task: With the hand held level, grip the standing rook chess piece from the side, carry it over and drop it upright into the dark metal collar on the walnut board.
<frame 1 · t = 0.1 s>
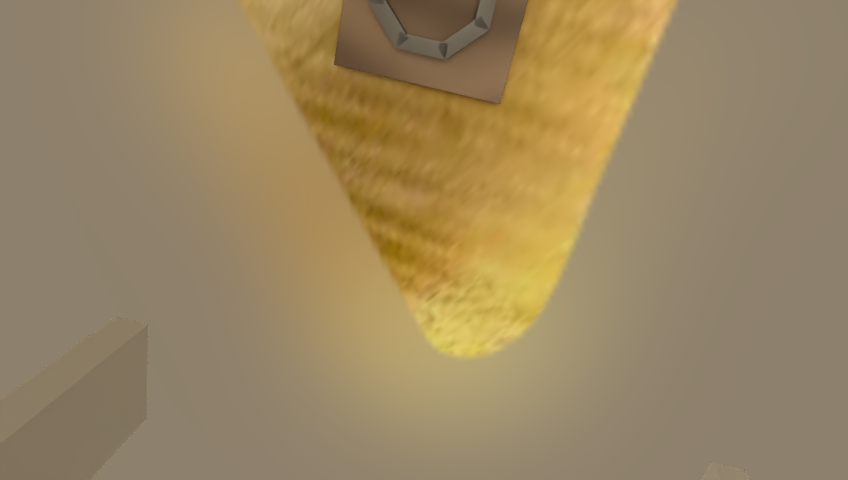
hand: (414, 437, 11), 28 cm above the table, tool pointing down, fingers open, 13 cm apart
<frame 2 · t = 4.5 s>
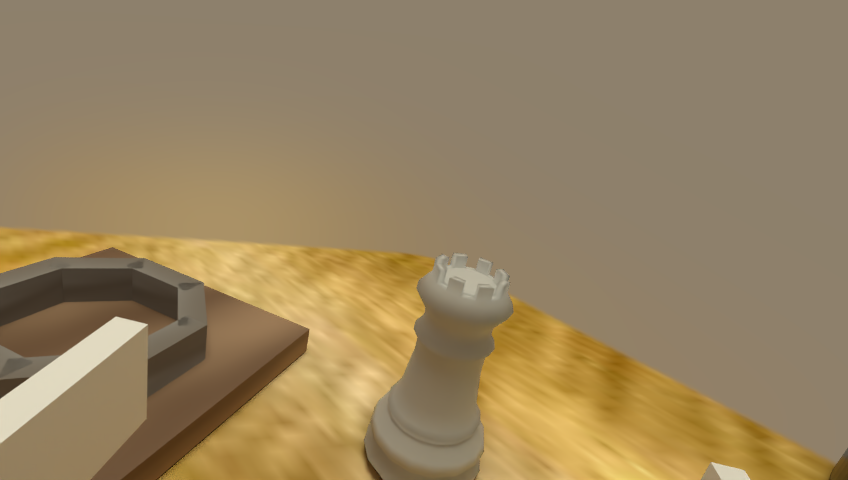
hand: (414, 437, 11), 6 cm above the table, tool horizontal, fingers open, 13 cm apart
socket board: (89, 367, 19), on the table
rook chess piece: (419, 460, 19), on the table
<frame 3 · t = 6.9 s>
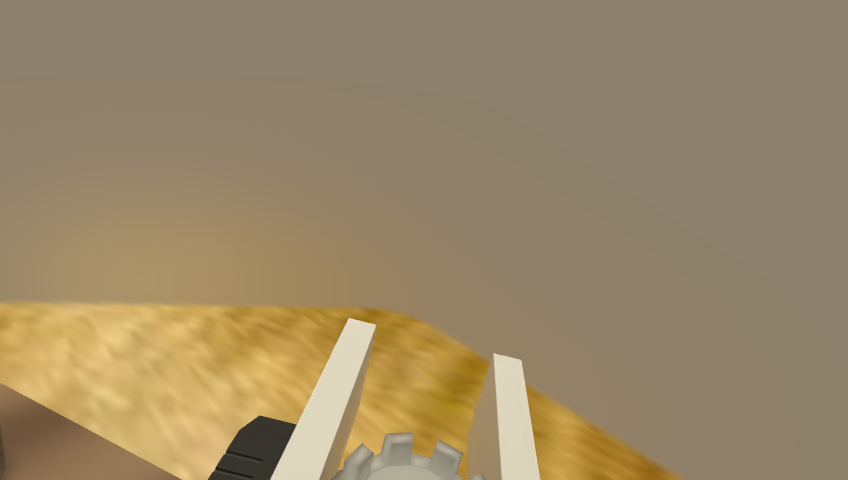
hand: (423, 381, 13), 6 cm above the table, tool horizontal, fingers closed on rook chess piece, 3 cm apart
when the fingers open (9 cm above the table, at t = 11.4 s): rook chess piece drops 2 cm, resting on socket board.
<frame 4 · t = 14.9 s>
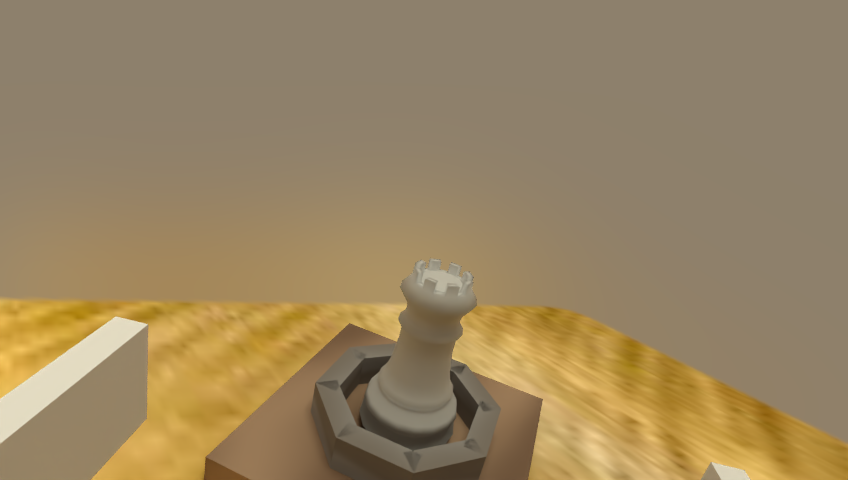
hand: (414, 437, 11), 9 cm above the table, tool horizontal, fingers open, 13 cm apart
socket board: (398, 442, 23), on the table
rook chess piece: (404, 427, 23), point 1 cm above the table, touching socket board
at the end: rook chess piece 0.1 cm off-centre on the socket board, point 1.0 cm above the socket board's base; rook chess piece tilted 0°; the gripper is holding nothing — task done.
